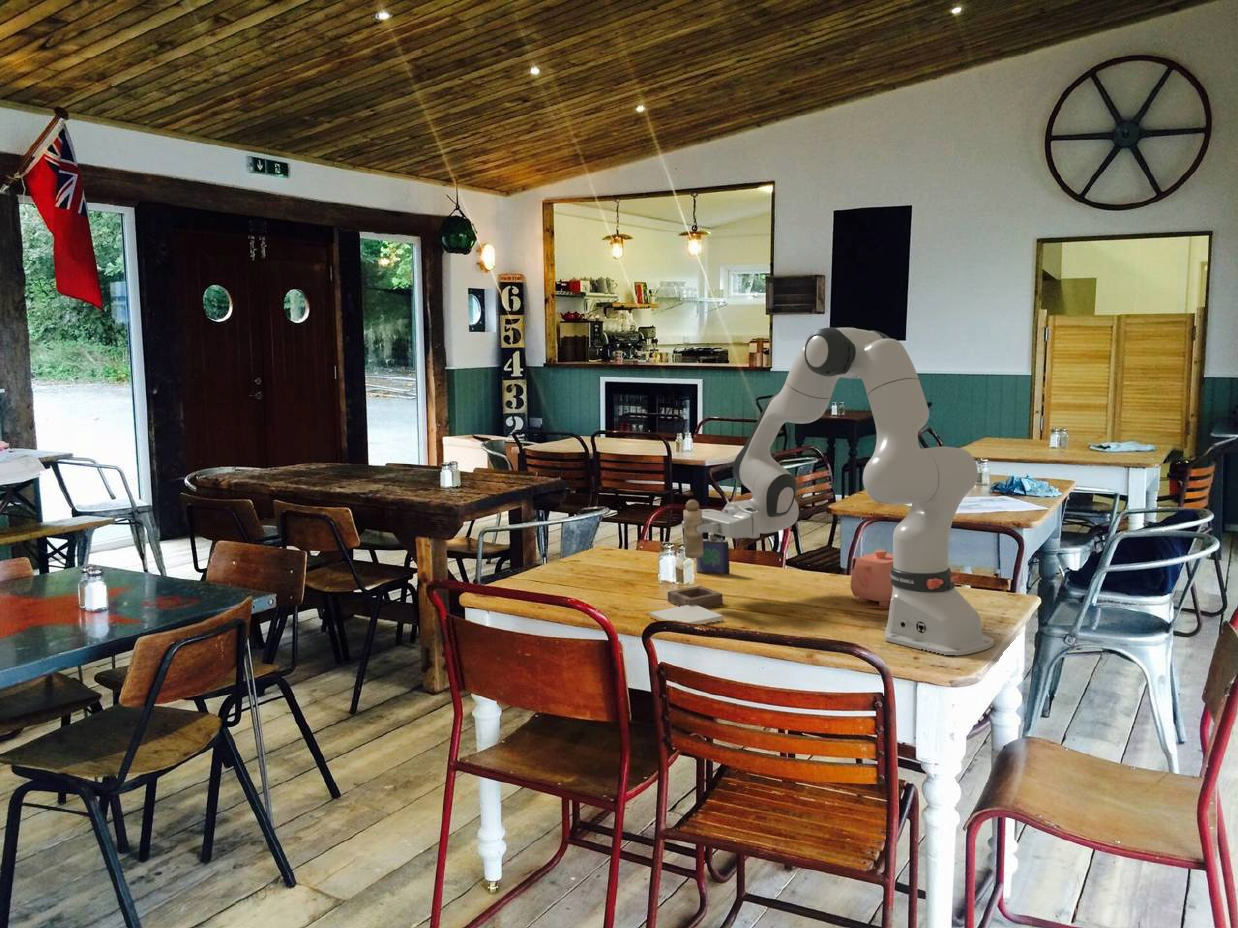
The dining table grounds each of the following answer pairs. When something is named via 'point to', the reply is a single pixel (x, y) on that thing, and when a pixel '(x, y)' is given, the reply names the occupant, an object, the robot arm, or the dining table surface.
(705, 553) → the flask
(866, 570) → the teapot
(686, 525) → the mill
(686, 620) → the board
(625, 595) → the dining table surface
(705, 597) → the holder
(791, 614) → the dining table surface
